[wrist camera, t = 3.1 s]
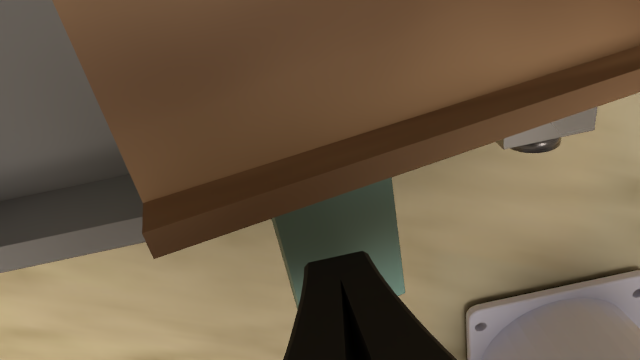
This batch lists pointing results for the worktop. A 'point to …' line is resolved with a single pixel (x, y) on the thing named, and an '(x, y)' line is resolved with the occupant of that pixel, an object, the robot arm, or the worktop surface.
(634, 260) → the worktop surface
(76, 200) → the tray
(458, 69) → the tilt board
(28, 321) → the worktop surface
